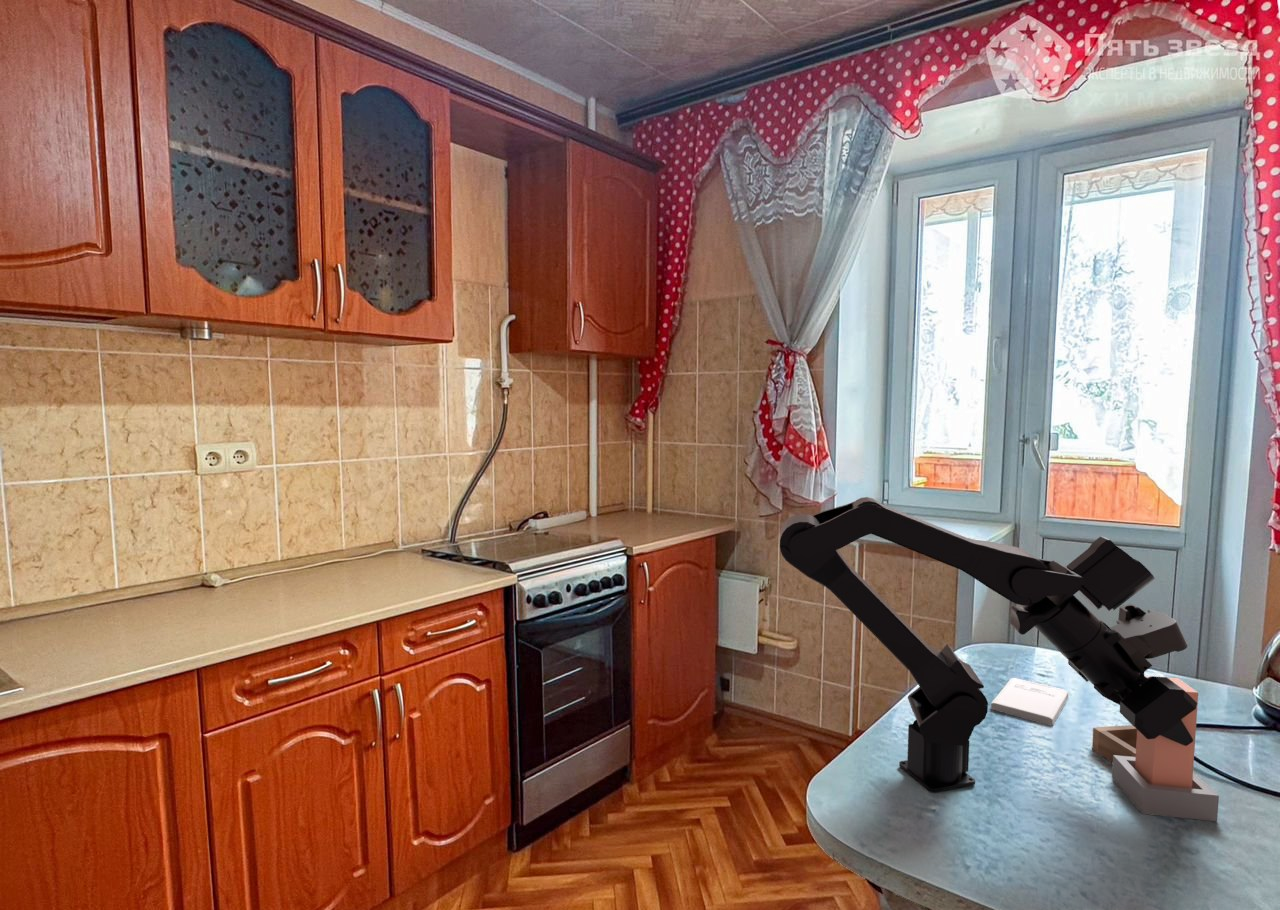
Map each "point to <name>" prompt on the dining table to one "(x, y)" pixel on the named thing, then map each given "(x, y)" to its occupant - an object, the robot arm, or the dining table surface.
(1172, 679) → the peg
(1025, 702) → the external hard drive
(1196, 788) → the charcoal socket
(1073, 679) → the dining table surface
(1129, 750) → the walnut socket
